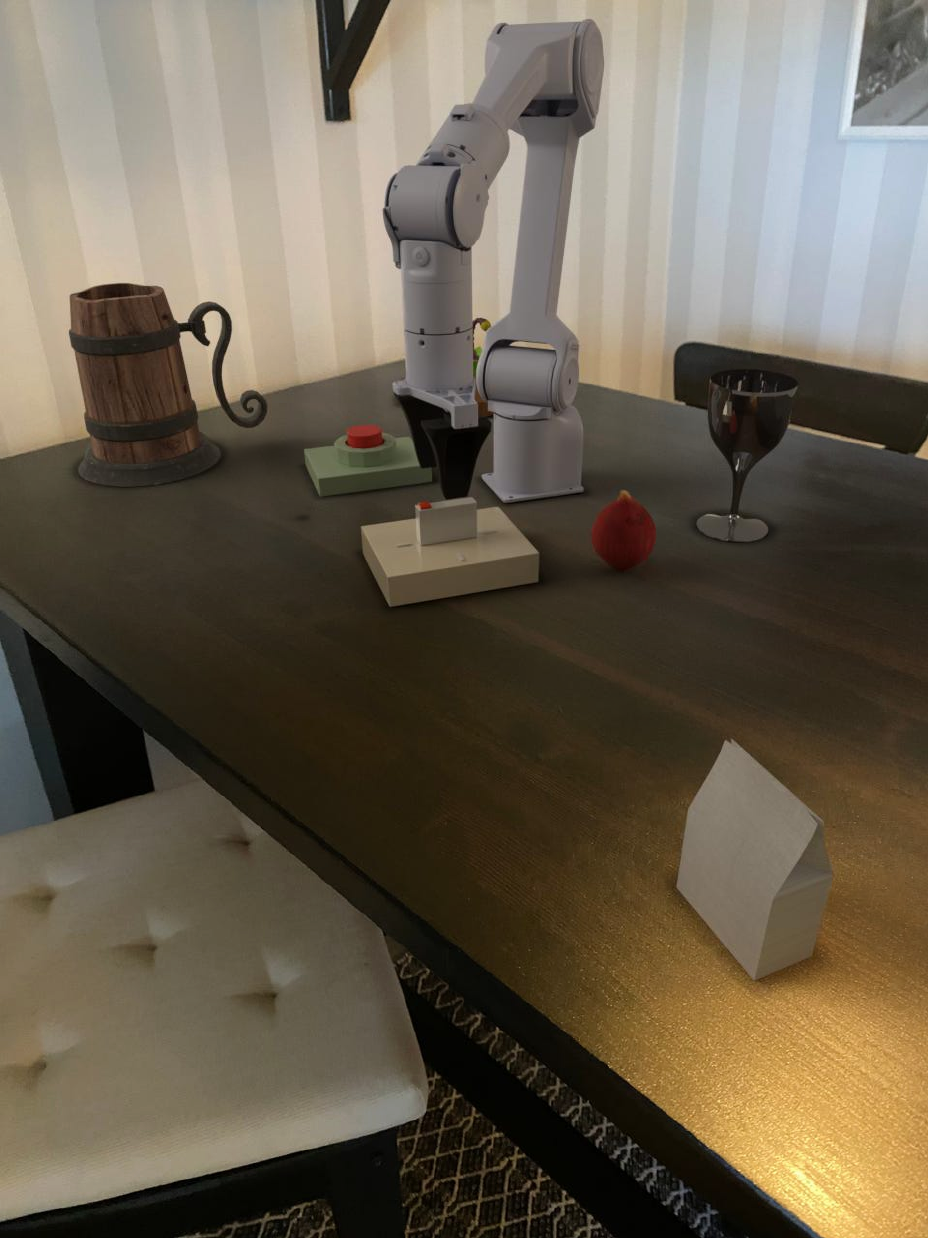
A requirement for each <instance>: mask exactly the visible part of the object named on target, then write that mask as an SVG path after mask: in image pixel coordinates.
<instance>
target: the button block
mask: <svg viewBox="0 0 928 1238" xmlns="http://www.w3.org/2000/svg"><path fill="white" fill-rule="evenodd" d="M382 440H383V444H382V445H380V446H377V447H374V448H366V449H361V448H353V447H350V446H348V439H347V434H345V435H342V436H339V437H338V438H337V439H336V440H335V441H334V445H327V446H319V447H309V448H304V449H303V453H304V454H303V455H304V462H305V467H306V469H307V472H308V474H309V476H310V478H311V480H312V483H313V484H314V487H315V489H316V491H317V493H318V495H319V497H320V498H323V497H329V496H335V495H337V496H338V495H345V494H352V493H360V492H367V491H374V490H375V491H376V490H381V489H389V488H396V487H397V488H398V487H403V486H412V485H419V484H427V483H432V482H433V467H431V468H424V469H422V468H421V467H420V465H419V462H418V459H417V456H416V452H415V448H414V444H413V440H412V437H410V436H403V437H394V436H393V435H391V434H389V433H385V432H382Z"/></svg>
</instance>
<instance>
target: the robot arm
mask: <svg viewBox="0 0 928 1238" xmlns="http://www.w3.org/2000/svg"><path fill="white" fill-rule="evenodd" d="M603 41H604V40H603V36H602V32H601V30H600V28H599V27H598V25H597V24H596V21H595V20H593V19H591V18H585V19H583V20H581V21H562V22H561V21H559V22H538V23H537V22H535V23H534V22H533V23H514V24H512V23H511V24H509V23H507V22H499V23H497V24H496V25H495V26H494V27H493V28H492V31H491V33H490V34H489V36H488V38H487V39H486V44H485V45H486V46H485V52H484V74H485V75H484V78H483V80H482V82H481V84H480V86H479V88H478V89H477V92H476V94H475V96H474V98H473V100H472V102H471V103H470V102H469V103H464V104H463V103H462V104H454V106H453V107H452V109H451V110H450V112H449V114H448V116H447V117H446V119H445V120H444V122H443V124H442V125H441V127H440V128H439V129H438V131H437V132H436V134H435V135H434V137H433V138H432V140H431V141H430V143H429V144H428V146H427V147H426V149H425V150H424V152H423V154H422V155H421V156H420V158H419V160H418V161H417V163H416V164H415V165H410V164H409V165H404V166H402V167H401V168H400V169H399V170H398V171H397V172H395V173H394V174H392V175H391V177H390V178H389V180H388V182H387V185H386V189H385V193H384V206H383V208H382V217H383V218H382V219H383V224H384V225H383V226H384V228H385V232H386V234H387V236H388V238H389V240H390V243H391V248H392V261H393V263H394V266H395V267H396V269H398V270H400V282H401V284H400V285H401V301H402V302H401V303H402V304H401V305H402V322H403V340H404V361H405V362H404V364H405V380H402V381H400V380H396V381H393V382H392V391H393V392H394V393H393V394H394V398H395V399H396V401H397V403H398V402H399V404H400V405H399V404H398V405H399V406H400V408H401V410H402V413H403V414H404V417H405V419H406V422H407V426H408V428H409V432H410V435H411V439H412V441H413V444H414V448H415V452H416V456H417V459H418V462H419V465H420V467H421V468H422V469H424V468H431V467H432V468H436V471H437V476H438V482H439V487H440V490H441V494H442V496H443V498H444V499H445V501H448V500H455V499H462V498H468V496H469V493H470V490H471V484H472V481H473V477H474V473H475V468H476V464H477V460H478V457H479V455H480V452H481V450H482V448H483V445H484V444H485V441H486V440H487V438H488V436H489V435H490V433H491V432H492V427H493V472H488V473H483V474H481V479H482V480H483V482H484V483H485V484H486V485H487V486H488V487H489V488H490V490H492V491H493V493H494V494H495V495H496V496H497V497H498V498H499V499H500V501H502V503H504V504H508V503H509V504H510V503H515V502H516V503H517V502H524V501H530V500H537V499H545V498H551V497H552V498H553V497H559V496H565V495H572V494H579V493H583V492H584V487H583V486H582V473H583V472H582V471H583V469H582V468H583V455H584V454H583V451H584V427H583V421H582V418H581V415H580V413H579V411H578V409H577V408H576V407H575V406H574V405H572V404H573V403H574V400H575V398H576V395H577V392H578V388H579V382H580V381H579V380H580V365H579V353H580V343H579V339H578V338H577V336H576V333H574V332H573V331H572V330H571V329H570V328H569V327H568V326H567V325H566V324H565V323H564V322H563V321H562V320H561V319H560V318H559V317H558V315H557V313H558V304H559V297H560V288H561V282H562V281H561V280H562V273H563V265H564V256H565V248H566V240H567V232H568V224H569V217H570V207H571V200H572V192H573V183H574V175H575V168H576V160H577V156H578V150H579V144H580V140H581V139H580V138H582V137H583V136H585V135H586V134H588V133H589V132H591V131H592V130H594V129H595V128H596V125H597V123H596V122H597V116H598V114H599V110H600V103H601V95H602V87H603V81H604V80H603V79H604V71H605V55H604V42H603ZM509 130H511V131H513V132H514V133H516V134H518V135H519V136H521V137H523V138H524V141H525V143H526V147H527V148H526V158H525V166H524V176H523V186H522V196H521V204H520V212H519V213H520V214H519V222H518V229H517V230H518V231H517V239H516V249H515V259H514V267H513V277H512V287H511V295H510V303H509V304H510V305H509V312H508V313H507V314H506V315H505V316H504V317H502V318H500V319H499V320H498V321H497V322H496V323H494V324H493V325H491V327H490V328H489V329H488V330H487V331H486V332H485V334H484V339H483V345H482V348H481V349H482V353H481V355H480V358H479V361H478V365H477V371H476V380H475V378H474V377H473V259H472V258H473V255H472V254H473V252H472V251H473V249H472V247H473V246H475V244H476V243H477V241H479V240H480V237H481V234H482V233H483V232H482V231H483V227H484V223H485V214H486V210H487V207H488V205H489V200H490V195H489V190H490V188H491V186H492V184H493V183H494V181H495V179H496V177H497V176H498V174H499V172H500V171H501V169H502V167H503V166H504V164H505V162H506V160H507V158H508V157H509V154H510V146H511V143H510V135H509ZM517 342H518V343H519V342H523V343H531V344H532V343H533V344H542V345H549V346H551V347H552V349H551V348H550V349H549V348H541V347H529V346H520V345H519V346H518V345H513V344H514V343H517ZM476 384H477V389H478V392H479V394H480V396H481V398H482V399H483V401H485V402H487V403H488V411H491V412H494V415H493V423H492V421H491V420H490V419H489V418H488V417H480V418H478V403H477V402H476V401H475V389H476Z"/></svg>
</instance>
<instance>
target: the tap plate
mask: <svg viewBox="0 0 928 1238" xmlns="http://www.w3.org/2000/svg"><path fill="white" fill-rule="evenodd" d="M360 534H361V544H362V555H363V556H364V559H365V561H366V563H367V565H368V567H369V568H370V570H371V573H372V575H373V577H374V578H375V581H376V582H377V585H378V587H379V588H380V591H381V592H382V593H381V594H383V597H384V598H385V599H384V600H386V602H387V604H388V606H389V608H392V607H398V606H404V605H410V604H416V603H422V602H428V601H435V600H439V599H446V598H451V597H458V596H464V595H470V594H476V593H481V592H486V591H493V590H498V589H504V588H511V587H516V586H523V585H528V584H534V583H539V575H540V573H539V570H540V552H539V551H538V550H537V548H535V546H534V544H532V543H531V542H530V540H529V539H528V538H527V537H526V536H525V535H524V534H523V533H522V531H520V529H519V528H518V527H517V526H516V525H515V524H514V522H512V520H511V519H510V518H509V517H508V516H507V514H506V513H504V511H503V510H502V509H501V508H500V507H499V506H491V507H486V508H477V537H473V538H467V539H461V540H454V541H448V542H441V543H435V544H429V545H422V546H421V545H420V544H419V542H418V541H417V534H416V518H409V519H402V520H396V521H389V522H388V521H387V522H382V523H375V524H368V525H362V526H360Z"/></svg>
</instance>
